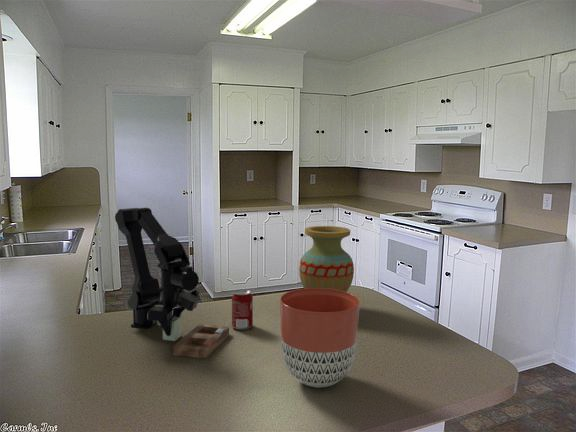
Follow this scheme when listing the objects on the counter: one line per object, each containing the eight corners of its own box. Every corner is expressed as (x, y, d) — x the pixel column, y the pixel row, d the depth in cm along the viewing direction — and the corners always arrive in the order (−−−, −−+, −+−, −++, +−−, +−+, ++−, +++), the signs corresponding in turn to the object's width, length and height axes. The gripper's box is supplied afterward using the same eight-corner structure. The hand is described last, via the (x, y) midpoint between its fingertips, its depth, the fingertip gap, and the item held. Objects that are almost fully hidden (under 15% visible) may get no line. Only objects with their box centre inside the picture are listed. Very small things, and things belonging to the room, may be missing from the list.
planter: (298, 409, 103) (300, 317, 100) (267, 371, 121) (268, 292, 118) (372, 392, 111) (375, 306, 108) (332, 359, 128) (334, 284, 125)
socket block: (173, 354, 130) (173, 345, 129) (199, 331, 147) (199, 322, 147) (206, 358, 127) (206, 348, 127) (229, 334, 145) (229, 325, 144)
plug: (162, 339, 140) (162, 319, 139) (169, 334, 144) (168, 315, 143) (174, 340, 139) (174, 320, 138) (180, 335, 143) (180, 316, 142)
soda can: (249, 331, 147) (249, 295, 146) (229, 330, 149) (229, 294, 147) (254, 324, 154) (255, 289, 152) (235, 322, 155) (235, 288, 154)
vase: (364, 312, 167) (367, 231, 163) (320, 323, 155) (323, 236, 151) (329, 298, 183) (331, 223, 179) (287, 307, 172) (288, 227, 168)
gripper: (181, 294, 129) (182, 348, 131) (207, 277, 147) (208, 324, 149) (145, 291, 131) (146, 343, 133) (175, 275, 149) (176, 321, 151)
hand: (171, 332), depth 141 cm, fingers closed on plug, 4 cm apart
